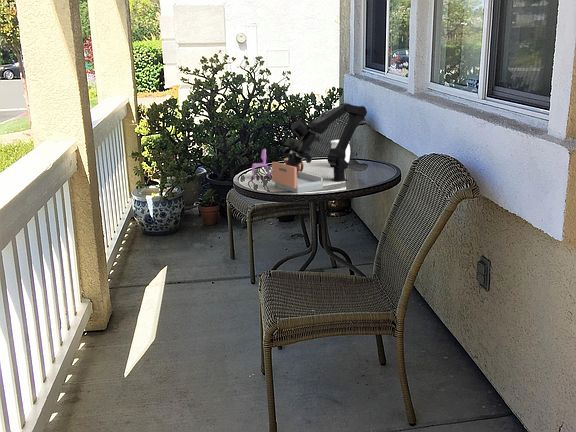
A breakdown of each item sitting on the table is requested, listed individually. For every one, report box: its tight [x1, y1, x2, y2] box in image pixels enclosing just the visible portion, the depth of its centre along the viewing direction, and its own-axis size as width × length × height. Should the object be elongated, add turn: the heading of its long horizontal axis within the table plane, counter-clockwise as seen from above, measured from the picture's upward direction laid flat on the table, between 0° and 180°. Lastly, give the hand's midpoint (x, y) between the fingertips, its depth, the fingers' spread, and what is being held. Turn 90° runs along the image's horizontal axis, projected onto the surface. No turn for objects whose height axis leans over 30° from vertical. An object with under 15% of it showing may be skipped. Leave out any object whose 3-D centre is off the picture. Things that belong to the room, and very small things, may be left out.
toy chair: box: [251, 148, 272, 180], centre depth 307 cm, size 8×9×15 cm
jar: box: [330, 138, 351, 168], centre depth 324 cm, size 11×10×15 cm
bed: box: [274, 171, 324, 194], centre depth 281 cm, size 14×21×6 cm
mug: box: [283, 157, 304, 175], centre depth 300 cm, size 12×9×10 cm
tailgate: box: [271, 161, 297, 188], centre depth 276 cm, size 2×20×10 cm, turn 31°
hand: (286, 168), depth 276 cm, fingers closed
